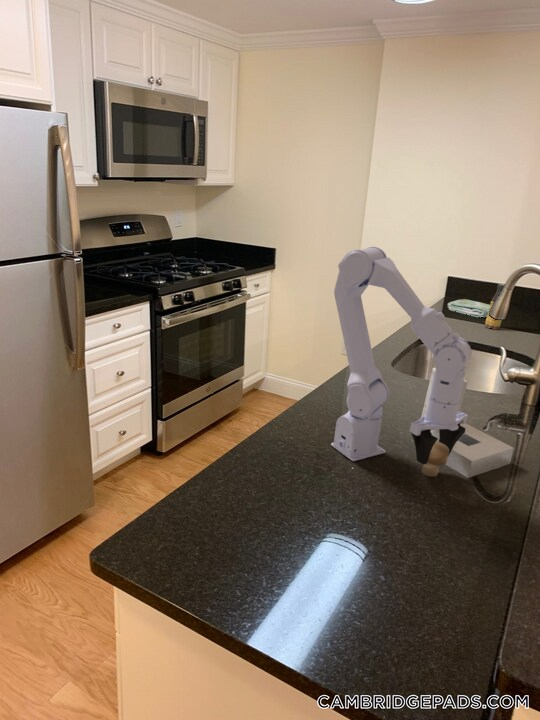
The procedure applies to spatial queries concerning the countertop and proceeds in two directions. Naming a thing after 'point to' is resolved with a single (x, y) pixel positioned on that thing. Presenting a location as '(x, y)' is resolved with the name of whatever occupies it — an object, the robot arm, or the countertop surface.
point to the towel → (469, 307)
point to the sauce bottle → (489, 321)
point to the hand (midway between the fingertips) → (432, 459)
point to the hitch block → (477, 452)
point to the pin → (436, 459)
